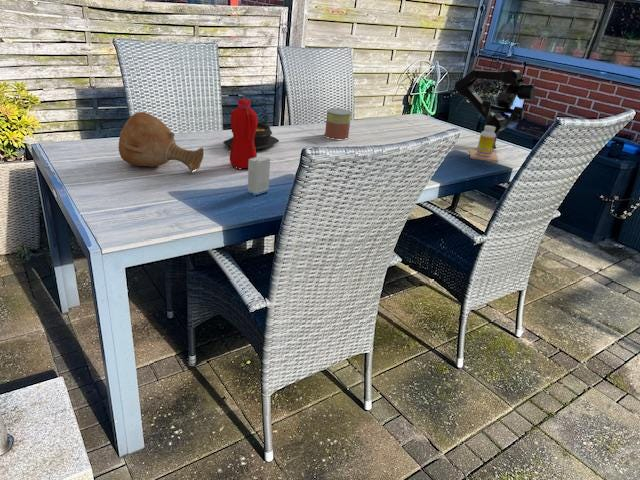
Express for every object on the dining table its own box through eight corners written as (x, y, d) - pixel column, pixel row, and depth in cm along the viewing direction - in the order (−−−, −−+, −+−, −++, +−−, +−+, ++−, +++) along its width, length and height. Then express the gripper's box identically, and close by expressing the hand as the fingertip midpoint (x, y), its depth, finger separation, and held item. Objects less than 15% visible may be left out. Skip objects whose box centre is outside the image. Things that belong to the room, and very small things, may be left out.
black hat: (241, 156, 199) (241, 136, 195) (214, 144, 210) (214, 124, 206) (288, 147, 215) (289, 128, 211) (260, 136, 226) (261, 117, 222)
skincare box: (260, 188, 171) (261, 154, 166) (269, 192, 169) (270, 158, 163) (246, 193, 167) (247, 158, 161) (256, 197, 164) (257, 162, 159)
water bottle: (237, 172, 183) (237, 103, 171) (227, 162, 191) (227, 96, 180) (260, 170, 187) (263, 103, 175) (250, 161, 195) (252, 96, 184)
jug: (138, 120, 189) (214, 139, 188) (122, 167, 187) (199, 187, 185) (117, 97, 170) (201, 118, 168) (99, 149, 167) (185, 171, 166)
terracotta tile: (469, 150, 235) (469, 148, 234) (495, 154, 233) (495, 152, 232) (470, 158, 224) (470, 156, 224) (497, 162, 222) (498, 160, 222)
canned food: (352, 137, 238) (355, 111, 232) (340, 141, 229) (343, 115, 224) (332, 132, 243) (335, 107, 237) (320, 136, 234) (322, 110, 229)
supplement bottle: (491, 157, 225) (498, 129, 219) (476, 155, 226) (483, 127, 220) (490, 153, 231) (497, 125, 225) (475, 151, 232) (482, 123, 226)
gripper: (487, 82, 228) (473, 109, 224) (529, 89, 218) (515, 118, 215) (489, 97, 237) (475, 124, 234) (529, 105, 228) (515, 133, 225)
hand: (494, 124), depth 227 cm, fingers open, 9 cm apart
